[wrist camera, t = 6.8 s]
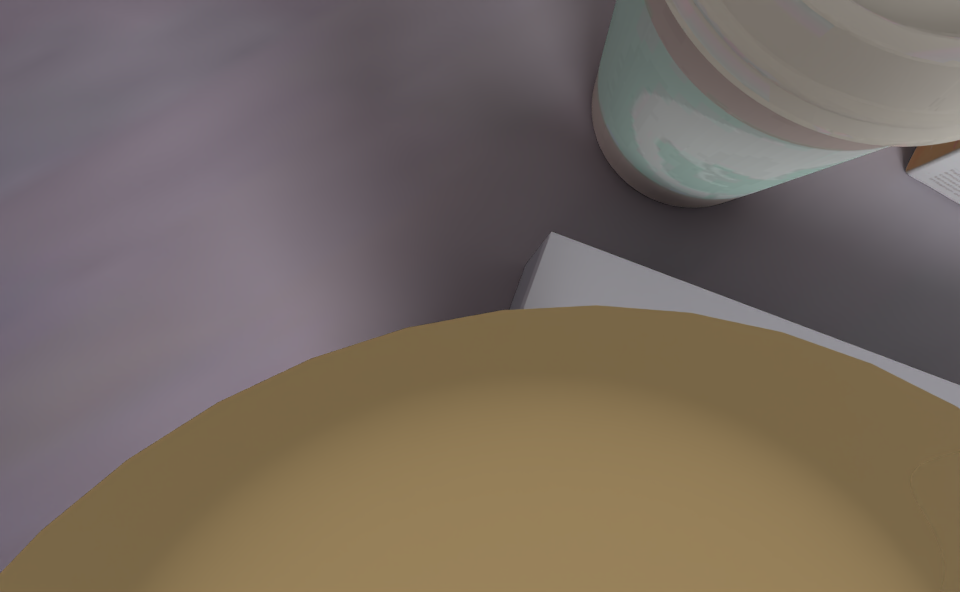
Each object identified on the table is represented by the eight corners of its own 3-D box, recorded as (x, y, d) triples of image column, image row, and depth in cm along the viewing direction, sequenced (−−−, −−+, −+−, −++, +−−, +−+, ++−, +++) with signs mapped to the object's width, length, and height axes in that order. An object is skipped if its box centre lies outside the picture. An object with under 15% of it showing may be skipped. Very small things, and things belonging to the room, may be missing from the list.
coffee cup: (510, 205, 23) (607, -1, 11) (588, -57, 24) (748, -496, 12) (790, 291, 23) (1175, 179, 11) (853, 26, 25) (1259, -322, 13)
